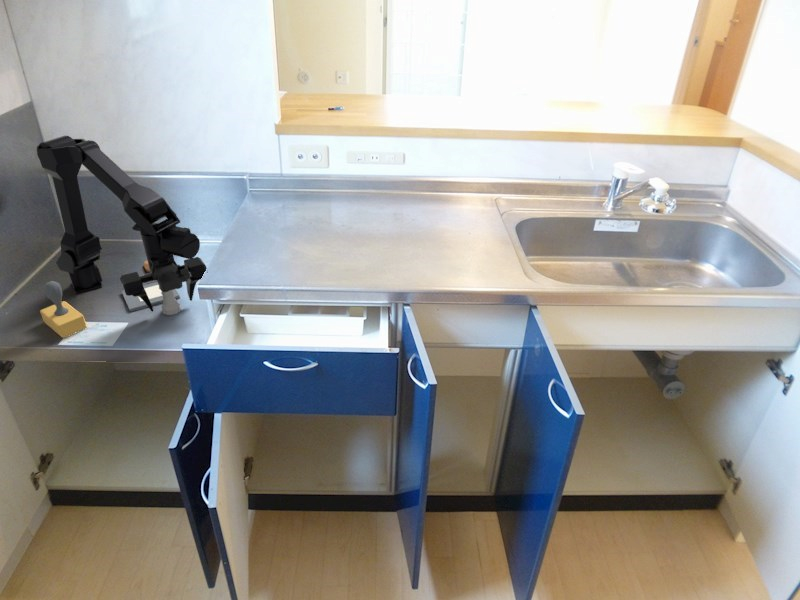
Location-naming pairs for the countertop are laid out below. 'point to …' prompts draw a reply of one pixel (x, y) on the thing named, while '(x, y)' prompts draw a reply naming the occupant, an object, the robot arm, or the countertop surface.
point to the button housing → (145, 272)
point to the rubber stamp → (61, 313)
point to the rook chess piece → (170, 303)
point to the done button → (146, 267)
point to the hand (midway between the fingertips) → (171, 305)
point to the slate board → (152, 294)
